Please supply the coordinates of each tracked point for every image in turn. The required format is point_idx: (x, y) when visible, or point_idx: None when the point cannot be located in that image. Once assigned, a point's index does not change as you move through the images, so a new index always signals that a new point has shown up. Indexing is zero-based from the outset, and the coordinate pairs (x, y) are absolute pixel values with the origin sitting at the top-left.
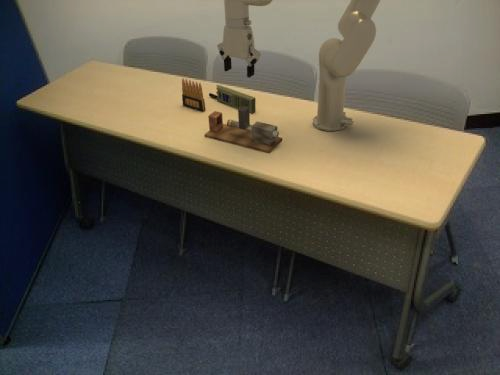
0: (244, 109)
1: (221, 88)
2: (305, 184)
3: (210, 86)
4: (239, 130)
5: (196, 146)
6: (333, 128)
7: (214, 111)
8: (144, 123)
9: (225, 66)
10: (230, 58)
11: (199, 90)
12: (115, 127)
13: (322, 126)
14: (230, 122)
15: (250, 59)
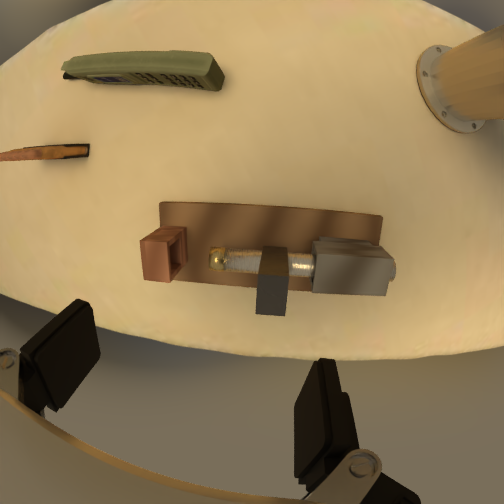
0: (278, 300)
1: (79, 70)
2: (441, 350)
3: (56, 40)
4: (241, 222)
5: (179, 320)
6: (477, 128)
7: (140, 244)
8: (41, 266)
9: (79, 377)
10: (38, 365)
11: (40, 158)
12: (28, 296)
13: (455, 122)
14: (222, 271)
15: (313, 497)
